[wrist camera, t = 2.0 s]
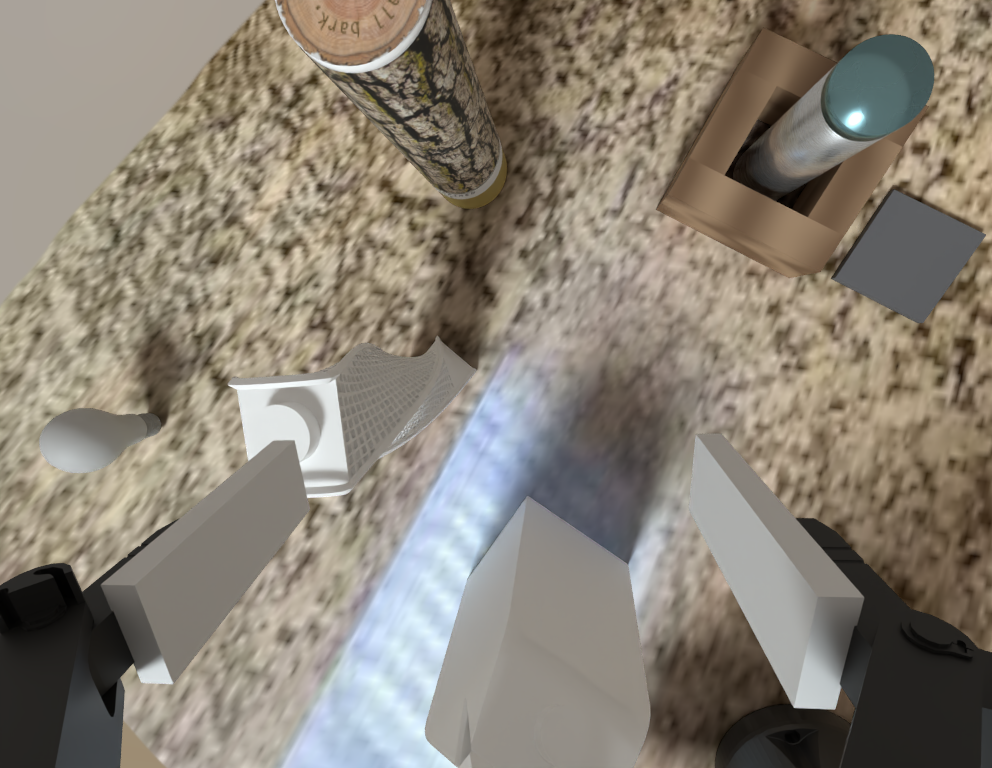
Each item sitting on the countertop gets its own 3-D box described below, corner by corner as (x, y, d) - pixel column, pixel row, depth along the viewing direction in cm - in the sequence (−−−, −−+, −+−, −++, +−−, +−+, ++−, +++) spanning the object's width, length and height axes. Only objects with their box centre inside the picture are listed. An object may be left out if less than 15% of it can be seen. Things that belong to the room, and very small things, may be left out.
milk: (466, 580, 49) (358, 864, 23) (527, 495, 46) (481, 706, 21) (562, 646, 48) (559, 1014, 22) (628, 564, 46) (707, 867, 20)
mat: (979, 236, 38) (986, 234, 37) (917, 323, 39) (923, 322, 39) (889, 191, 38) (894, 189, 38) (831, 278, 40) (835, 277, 39)
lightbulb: (126, 433, 52) (12, 461, 42) (142, 385, 51) (30, 402, 40) (171, 458, 52) (67, 494, 41) (188, 411, 51) (87, 435, 40)
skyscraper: (437, 316, 45) (242, 307, 18) (495, 366, 45) (387, 432, 18) (390, 377, 47) (143, 454, 19) (445, 425, 47) (275, 571, 19)
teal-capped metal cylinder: (808, 158, 39) (955, 59, 24) (774, 214, 40) (895, 150, 25) (754, 132, 39) (867, 18, 25) (721, 187, 40) (811, 109, 25)
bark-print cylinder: (506, 211, 43) (428, 65, 19) (435, 210, 44) (273, 69, 20) (510, 134, 42) (434, -129, 18) (438, 134, 43) (270, -114, 19)
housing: (881, 134, 38) (928, 106, 33) (789, 278, 40) (820, 271, 35) (738, 64, 39) (763, 27, 34) (656, 209, 41) (668, 194, 36)
